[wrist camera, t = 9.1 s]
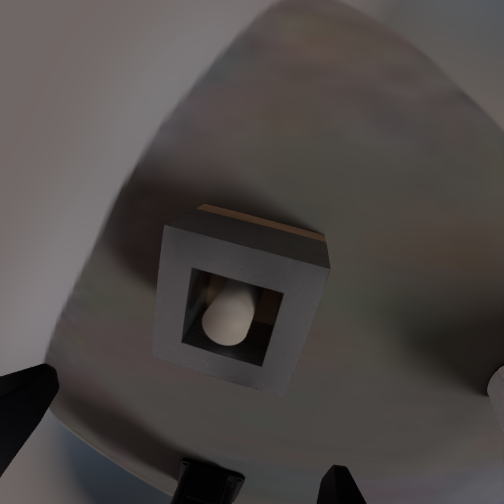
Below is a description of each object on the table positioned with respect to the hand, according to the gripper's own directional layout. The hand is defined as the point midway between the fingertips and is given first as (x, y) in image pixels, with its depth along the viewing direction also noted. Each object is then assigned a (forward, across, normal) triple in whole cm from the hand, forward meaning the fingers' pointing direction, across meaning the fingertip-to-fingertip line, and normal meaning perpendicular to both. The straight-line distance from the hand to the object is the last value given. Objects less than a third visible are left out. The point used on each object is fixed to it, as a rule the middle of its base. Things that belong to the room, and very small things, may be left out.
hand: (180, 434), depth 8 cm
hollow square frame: (+10, 0, 0) cm, 10 cm away
